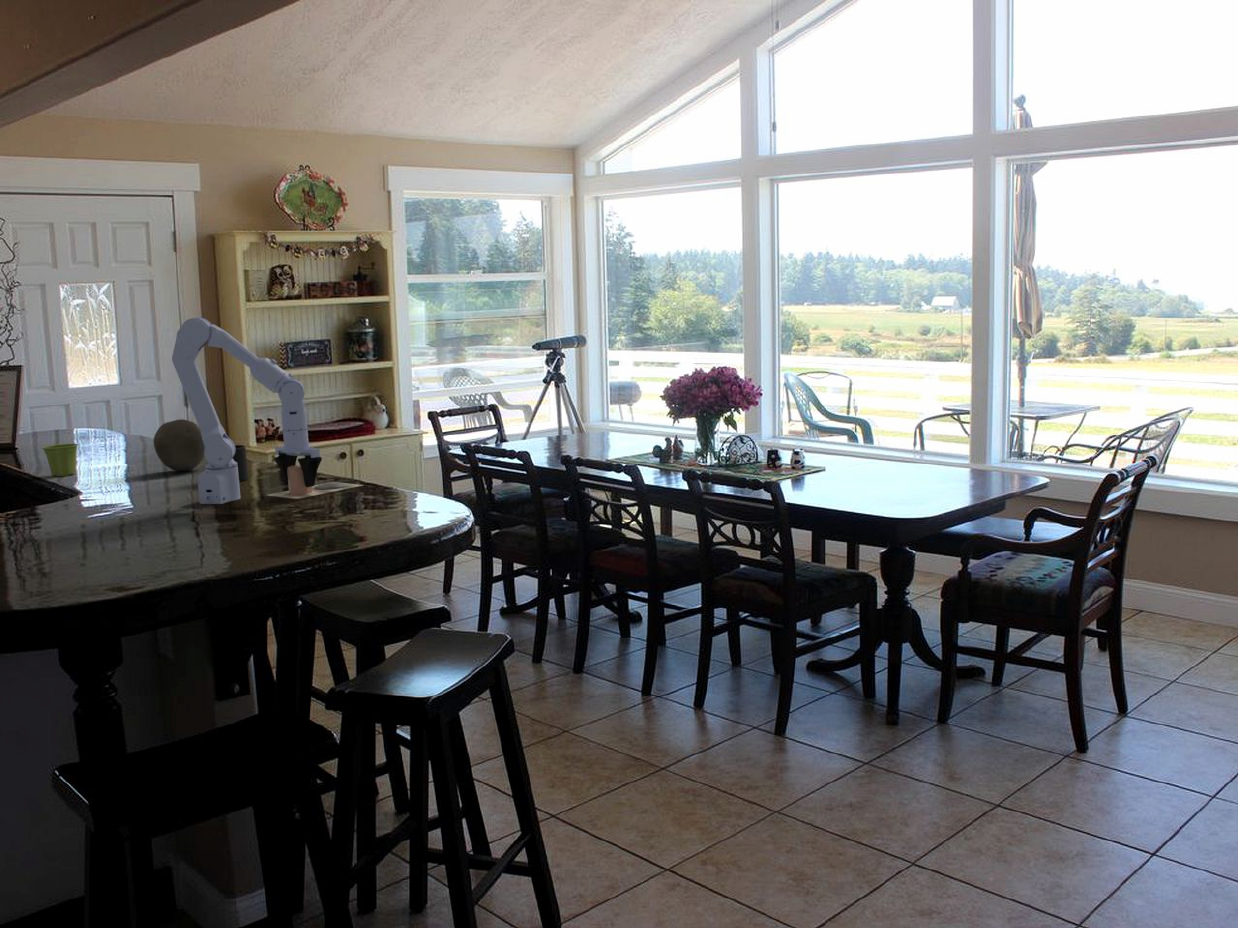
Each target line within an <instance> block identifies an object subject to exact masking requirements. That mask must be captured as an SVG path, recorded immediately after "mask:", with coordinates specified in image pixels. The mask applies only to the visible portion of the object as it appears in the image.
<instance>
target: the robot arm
mask: <svg viewBox="0 0 1238 928" xmlns="http://www.w3.org/2000/svg"><path fill="white" fill-rule="evenodd" d="M207 344H208V345H207ZM206 345H207V346H209V347H215V348H220V349H222V350H224V351H225V352H227V353H228V354H230V355H232V357H234V358H236V359H237V360H238V361H239V362H241V363H242V364H243V365H245V366H247V368H249V369H250V373H251V374H250V375H251V378H253V379H254V380H256V381H257V382H259V383H260V384H261V385H262V386H263V387H265V388H266V389H267V390H269V391H271V393H273V394H275V393H276V394H277V395H278V398H279V400H280V401H281V412H280V414H281V424H282V426H281V427H282V435H283V436H282V437H283V445H280V446H275V447H274V450H275V455H276V456H275V457H274V458H273V462H275V463H276V464H277V467H278V468H279V471H280V472H281V475H282V478H283V480H284V483H285V485H286V486H289V484H288V473H287V469H288V467H289V466H295V465H297V464H296V463H297V462H298V463H299V464H298V465H300V466H301V469H302V472H303V476H304V482H305V486H306V487H312V486H315V485H316V477H317V473H318V471H319V470H318V469H319V466H320V464H321V462H322V460H323V458H322V456H321V453H320V448H317V447H316V448H315V447H313V445H310V444H309V443H310V442H309V431H308V420H307V419H308V418H307V411H306V404H305V403H306V402H305V400H304V397H305V387H304V385H303V383H302V382H301V381H300V380H299V379H298V378H294V377H293V376H294V375H293V374H292V373H291V372H289V373H288V372H286V371H285V370H284V369H283V368H282V367H280V366H279V365H277V363H278V362H277V360H275V359H274V358H272V359H269V358H268V357H261V358H259V357H258V356H257V355H256V354H254V353H253V352H252V351H251V350H250V349H248V348H247V347H246V346H245V345H243V344H242V343H241V342H240V341H238V340H237V339H236V338H235V337H234V336H232V334H230V333H229V332H227V331H226V330H224V329H222V328H221V327H220V326H217V325H216V324H212V323H211V321H210V320H208V319H207V318H204V317H201V316H200V317H191V318H189V319H186V320H185V321H184V322H183V323H182V324H181V326H180V328H179V329H178V330H177V332H176V338H175V343H174V347H173V351H172V356H171V360H172V363H173V367H174V369H175V372H176V374H177V376H178V379H179V381H180V383H181V387H182V388H183V391H184V394H185V396H186V398H187V401H188V403H189V406H190V408H191V410H192V413H193V415H194V418H195V421H196V424H197V425H198V427H199V428H200V431H201V435H202V440H203V443H204V446H205V450H204V456H205V457H204V459H205V461H206V464H205V465H204V466H205V469H204V471H201V473H199V475H198V477H197V488H198V490H197V491H198V499H199V504H200V505H202V504H203V505H205V504H207V505H211V504H212V505H222V504H225V503H229V502H233V501H237V500H240V499H241V498H242V497H241V490H240V488H241V487H240V482H239V475H238V465H237V462H235V461H234V460H233V459H232V458H233V456H234V455H235V452H236V447H235V445H236V444H235V443H234V441H233V439H231V438H230V437H229V436H228V435H227V432H226V430H225V429H224V427H223V425H222V424H221V422H220V419H219V416H218V414H217V412H216V409H215V407H214V405H213V402H212V400H211V397H210V394H209V392H208V389H207V386H206V384H205V382H204V379H203V376H202V374H201V372H200V369H199V367H198V364H197V361H196V360H197V359H198V357H199V355H200V353H201V350H202V349H203V348H204V346H206ZM298 457H299V458H298ZM301 457H302V458H301Z"/></svg>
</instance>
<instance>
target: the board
mask: <svg viewBox="0 0 1238 928" xmlns="http://www.w3.org/2000/svg"><path fill="white" fill-rule="evenodd" d="M362 486H363V487H364V484H357V483H356V484H355V483H347V482H346V483H345V482H337V481H331V482H326V483H321V484H315V485H314V486H312V493H309V494H303V495H290V494H289V490H285V491H281V492H275V493H270V494H267V496H269V497H277V498H278V497H279V498H286V499H295V500H298V499H305V498H308V497H309V498H310V497H313V496H318V495H324V494H329V493H333V492H338V491H342V490H349V489H352V488H357V487H358V488H359V487H362Z"/></svg>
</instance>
